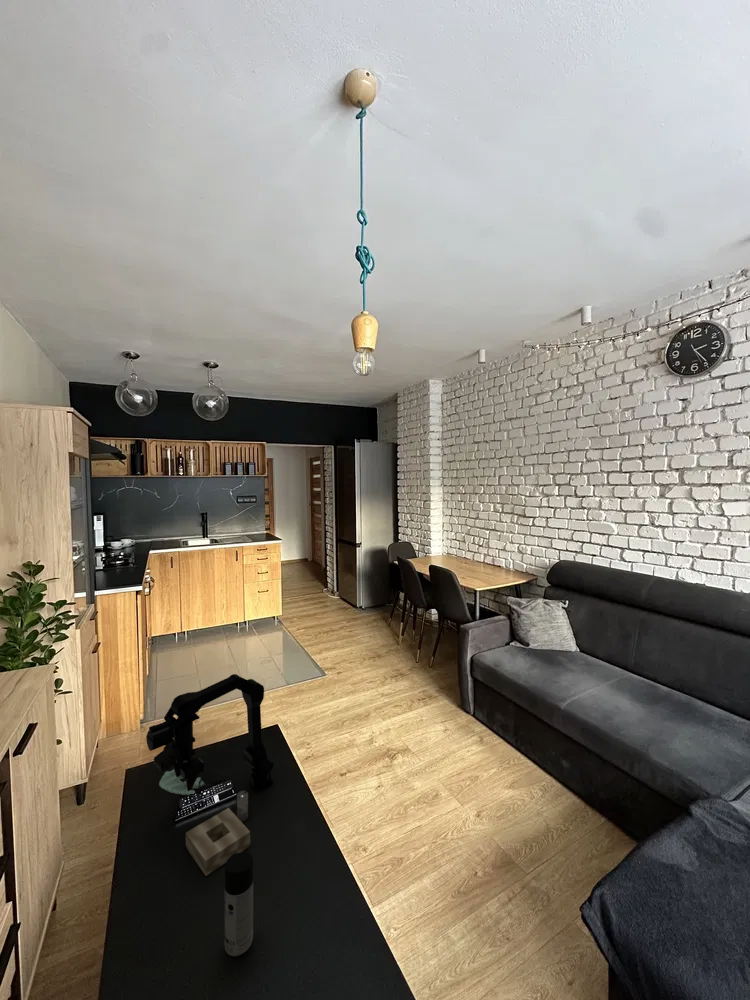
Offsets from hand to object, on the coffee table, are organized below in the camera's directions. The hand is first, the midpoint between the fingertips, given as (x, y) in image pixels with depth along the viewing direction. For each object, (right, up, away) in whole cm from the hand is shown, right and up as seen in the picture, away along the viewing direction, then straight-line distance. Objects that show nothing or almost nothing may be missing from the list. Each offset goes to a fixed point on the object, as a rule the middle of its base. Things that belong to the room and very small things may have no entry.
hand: (183, 783), depth 136 cm
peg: (+18, -15, +5) cm, 23 cm away
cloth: (-8, -15, +23) cm, 29 cm away
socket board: (+14, -15, -7) cm, 21 cm away
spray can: (+29, -16, -34) cm, 48 cm away
